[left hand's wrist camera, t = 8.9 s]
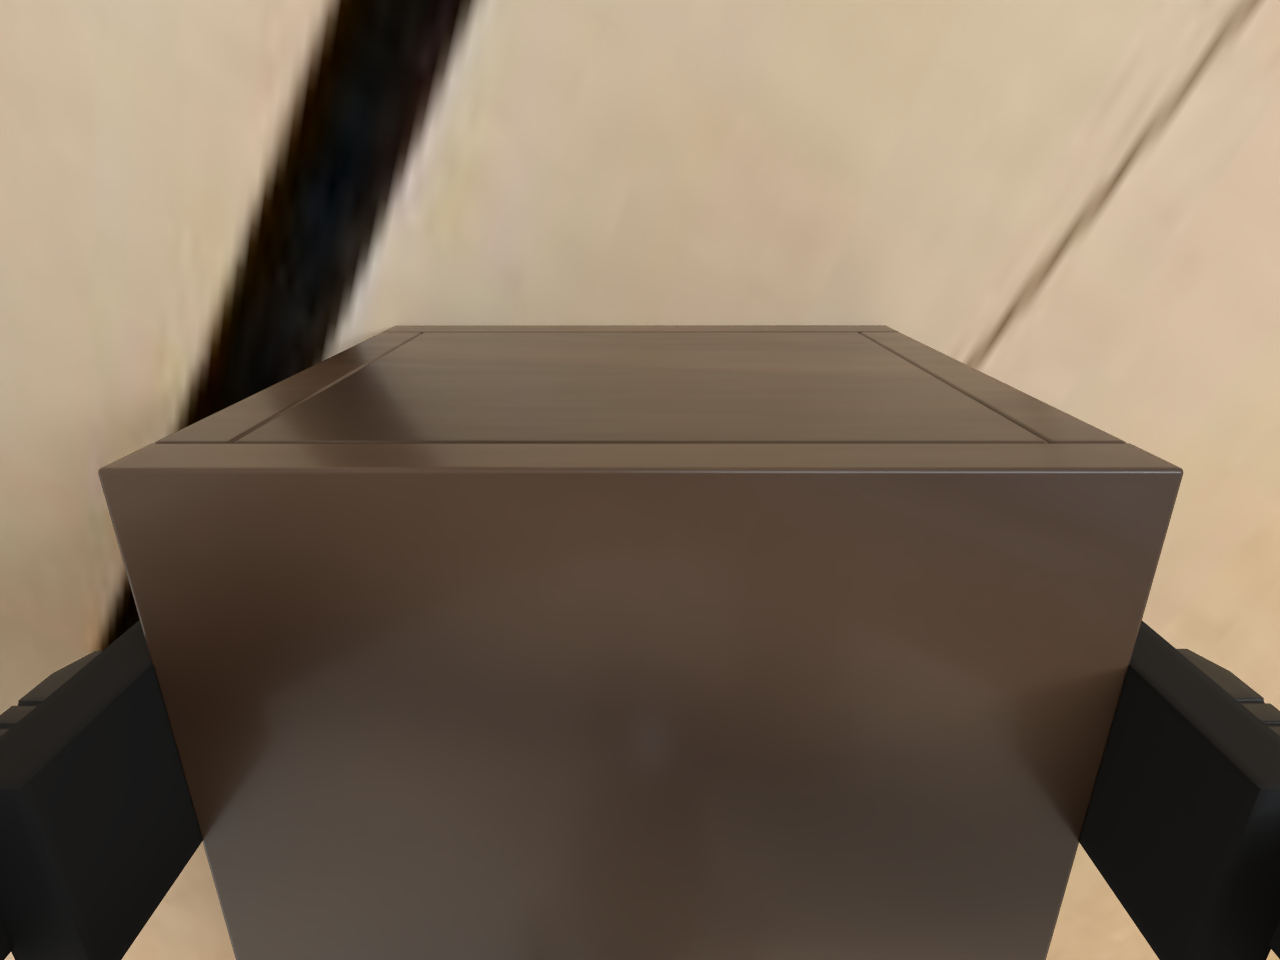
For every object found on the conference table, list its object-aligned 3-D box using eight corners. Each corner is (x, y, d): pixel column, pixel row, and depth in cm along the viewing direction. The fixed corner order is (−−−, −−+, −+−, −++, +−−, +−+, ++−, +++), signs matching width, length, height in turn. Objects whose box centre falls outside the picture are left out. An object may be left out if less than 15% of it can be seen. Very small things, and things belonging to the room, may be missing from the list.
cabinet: (809, 979, 24) (910, 1442, 15) (472, 978, 24) (371, 1441, 15) (886, 325, 17) (1186, 468, 7) (394, 325, 17) (95, 468, 7)
